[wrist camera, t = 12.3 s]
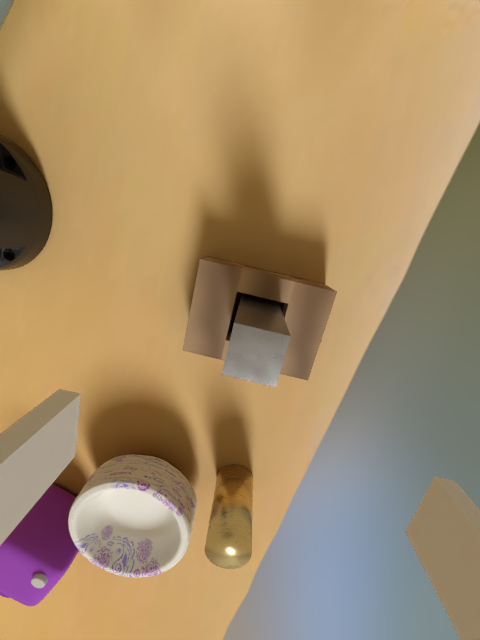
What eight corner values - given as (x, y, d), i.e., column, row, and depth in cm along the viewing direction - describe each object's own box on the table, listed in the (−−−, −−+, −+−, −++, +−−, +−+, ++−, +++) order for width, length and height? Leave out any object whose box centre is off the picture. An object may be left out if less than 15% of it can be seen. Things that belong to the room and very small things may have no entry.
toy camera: (17, 532, 47) (-45, 607, 37) (39, 472, 43) (-23, 538, 34) (79, 558, 47) (34, 638, 38) (106, 501, 44) (63, 573, 34)
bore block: (192, 335, 36) (182, 350, 31) (208, 256, 33) (199, 258, 28) (301, 361, 36) (307, 380, 31) (325, 284, 33) (336, 291, 28)
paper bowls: (202, 443, 40) (189, 490, 32) (199, 526, 44) (187, 586, 36) (96, 433, 41) (59, 477, 33) (103, 516, 45) (71, 572, 37)
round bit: (213, 489, 42) (200, 562, 32) (221, 460, 41) (209, 528, 31) (248, 497, 42) (245, 573, 32) (256, 469, 41) (256, 539, 31)
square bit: (235, 323, 35) (221, 374, 22) (243, 290, 34) (234, 322, 21) (268, 331, 35) (275, 387, 22) (277, 299, 34) (290, 336, 21)
